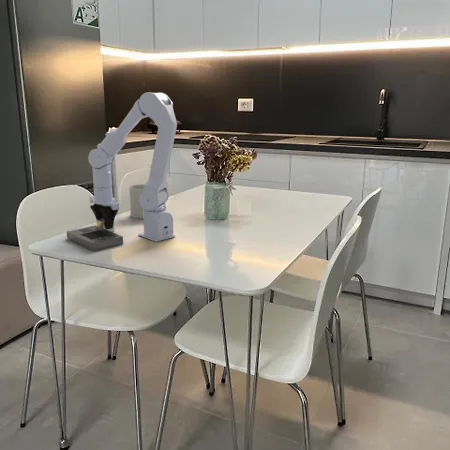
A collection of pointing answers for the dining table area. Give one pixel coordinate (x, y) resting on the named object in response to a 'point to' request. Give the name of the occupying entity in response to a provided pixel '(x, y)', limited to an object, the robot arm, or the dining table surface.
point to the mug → (136, 201)
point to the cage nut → (103, 224)
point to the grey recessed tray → (92, 232)
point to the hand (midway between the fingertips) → (105, 227)
